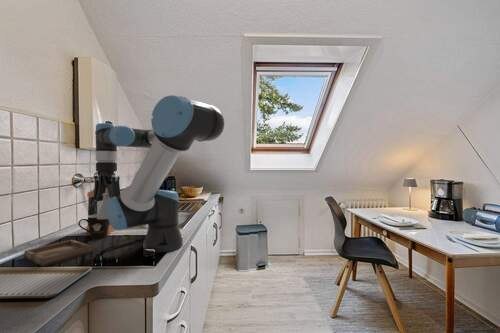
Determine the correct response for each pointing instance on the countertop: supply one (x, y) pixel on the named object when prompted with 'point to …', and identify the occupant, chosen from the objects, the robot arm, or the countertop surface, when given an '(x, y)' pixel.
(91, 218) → the coffee mug
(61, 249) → the walnut tray
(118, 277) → the countertop surface
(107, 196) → the flask
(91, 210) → the whiskey bottle
